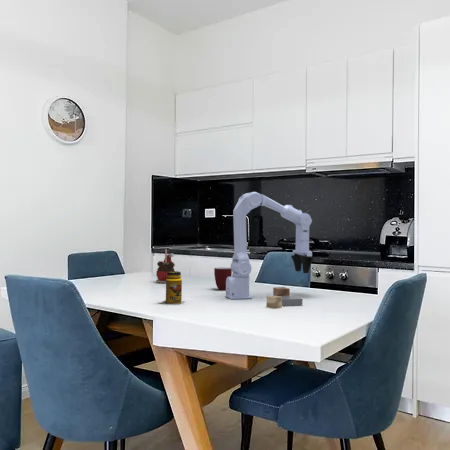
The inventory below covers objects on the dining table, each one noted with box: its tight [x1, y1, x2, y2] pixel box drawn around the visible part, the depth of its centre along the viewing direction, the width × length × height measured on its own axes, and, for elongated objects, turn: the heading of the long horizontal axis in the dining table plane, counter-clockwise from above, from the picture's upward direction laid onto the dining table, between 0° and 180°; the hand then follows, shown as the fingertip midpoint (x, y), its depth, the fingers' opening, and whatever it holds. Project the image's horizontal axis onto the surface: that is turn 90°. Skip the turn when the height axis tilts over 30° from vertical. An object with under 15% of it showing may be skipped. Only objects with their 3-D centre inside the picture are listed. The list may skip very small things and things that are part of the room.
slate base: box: [279, 295, 303, 307], centre depth 180 cm, size 8×8×2 cm
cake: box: [155, 247, 175, 284], centre depth 241 cm, size 11×9×18 cm
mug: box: [213, 266, 233, 291], centre depth 218 cm, size 10×8×10 cm
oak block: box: [266, 295, 283, 310], centre depth 173 cm, size 4×4×4 cm
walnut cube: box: [272, 286, 291, 296], centre depth 189 cm, size 5×5×5 cm
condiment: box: [159, 270, 186, 306], centre depth 180 cm, size 7×8×12 cm
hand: (301, 272), depth 202 cm, fingers open, 7 cm apart
